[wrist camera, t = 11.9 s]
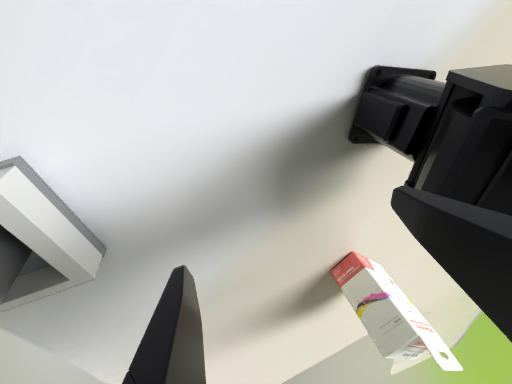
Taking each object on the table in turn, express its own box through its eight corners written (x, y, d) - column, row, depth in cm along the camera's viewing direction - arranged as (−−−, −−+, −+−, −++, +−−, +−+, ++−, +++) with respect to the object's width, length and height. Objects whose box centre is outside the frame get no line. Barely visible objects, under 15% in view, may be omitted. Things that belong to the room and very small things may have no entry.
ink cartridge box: (327, 271, 35) (402, 393, 24) (352, 249, 34) (445, 368, 22) (357, 283, 40) (432, 389, 29) (380, 264, 39) (469, 368, 27)
